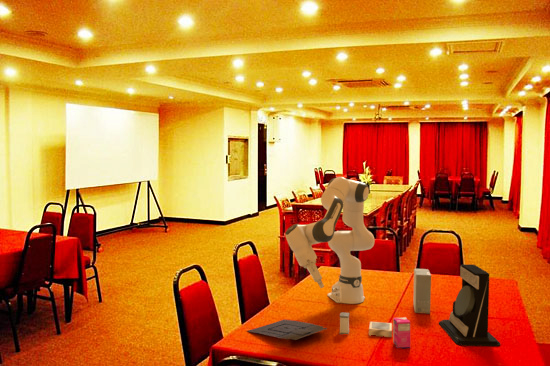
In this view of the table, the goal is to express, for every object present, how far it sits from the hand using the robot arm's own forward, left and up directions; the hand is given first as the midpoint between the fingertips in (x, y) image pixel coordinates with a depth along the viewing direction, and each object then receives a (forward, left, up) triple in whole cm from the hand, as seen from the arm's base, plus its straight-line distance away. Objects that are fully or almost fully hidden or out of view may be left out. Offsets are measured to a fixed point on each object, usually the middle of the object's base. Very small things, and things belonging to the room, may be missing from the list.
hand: (320, 284), depth 231 cm
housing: (+8, +8, -21) cm, 24 cm away
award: (+33, +58, -22) cm, 70 cm away
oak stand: (+15, +23, -21) cm, 35 cm away
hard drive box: (-4, +64, -22) cm, 68 cm away
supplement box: (+32, +21, -22) cm, 44 cm away
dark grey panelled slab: (-2, -16, -22) cm, 27 cm away
